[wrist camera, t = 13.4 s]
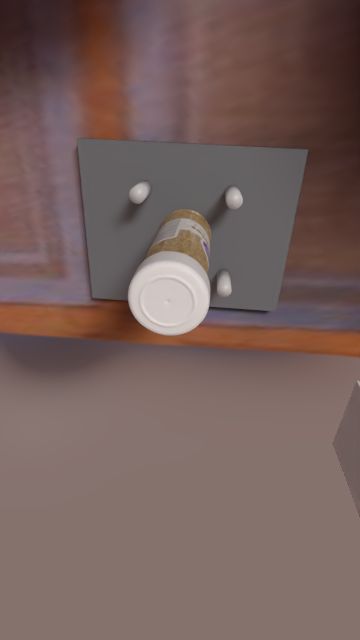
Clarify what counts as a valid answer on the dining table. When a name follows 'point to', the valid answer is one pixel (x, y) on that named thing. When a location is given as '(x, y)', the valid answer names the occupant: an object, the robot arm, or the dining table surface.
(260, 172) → the pin tray
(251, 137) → the dining table surface
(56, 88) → the dining table surface
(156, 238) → the sprinkles bottle
